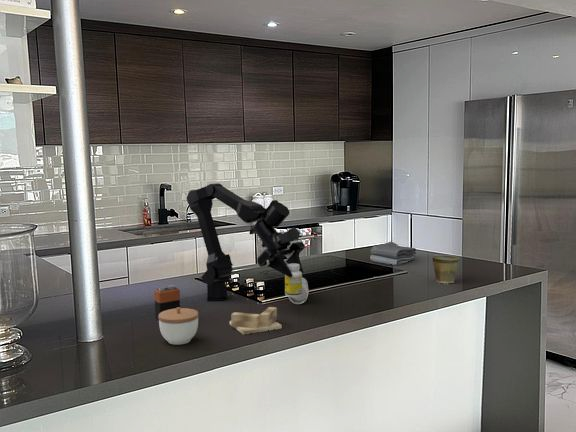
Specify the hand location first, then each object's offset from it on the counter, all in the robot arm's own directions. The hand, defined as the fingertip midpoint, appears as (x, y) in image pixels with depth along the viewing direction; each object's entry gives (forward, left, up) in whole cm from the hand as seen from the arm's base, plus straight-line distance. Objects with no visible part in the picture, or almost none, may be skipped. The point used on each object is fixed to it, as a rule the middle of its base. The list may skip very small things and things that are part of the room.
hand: (297, 274), depth 172 cm
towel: (+56, +78, -14) cm, 97 cm away
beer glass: (+5, +28, -10) cm, 30 cm away
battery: (-40, +5, -13) cm, 43 cm away
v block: (-14, -8, -13) cm, 21 cm away
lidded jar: (-35, -17, -13) cm, 42 cm away
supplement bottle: (-1, +1, -7) cm, 7 cm away
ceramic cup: (+64, +37, -13) cm, 75 cm away
